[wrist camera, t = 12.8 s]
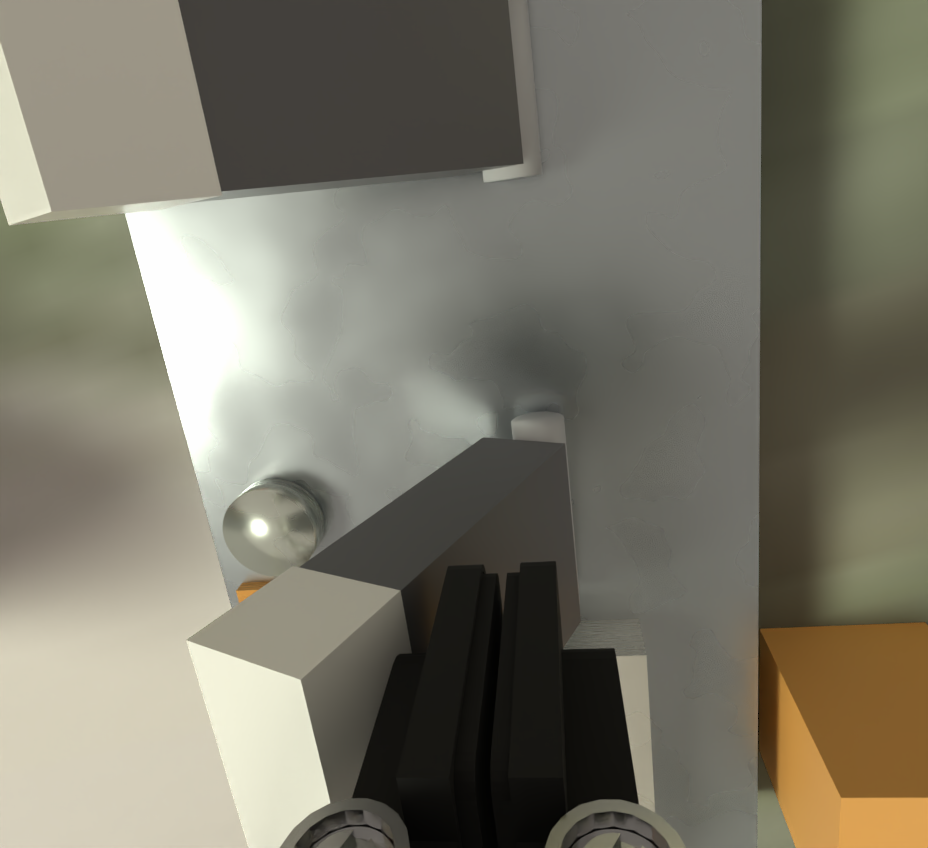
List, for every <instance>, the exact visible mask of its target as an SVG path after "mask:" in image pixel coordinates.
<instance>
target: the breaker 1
mask: <svg viewBox="0 0 928 848" xmlns="http://www.w3.org/2000/svg"><path fill="white" fill-rule="evenodd" d="M480 171H483V180H484V182H494V181H502V180H510V179H517V178H524V177H530V176H537V175H542V174H543V173H542V162H541V150H540V139H539V128H538V116H537V105H536V93H535V82H534V71H533V59H532V48H531V37H530V25H529V14H528V2H527V0H0V199H1V202H2V205H3V209H4V212H5V215H6V218H7V221H8V224H9V225H17V224H26V223H36V222H46V221H55V220H65V219H74V218H84V217H94V216H103V215H113V214H123V213H132V212H142V211H151V210H161V209H165V208H169V207H174V206H178V205H182V204H187V203H194V202H204V201H214V200H224V199H234V198H244V197H254V196H263V195H273V194H283V193H293V192H303V191H313V190H323V189H333V188H343V187H353V186H363V185H373V184H383V183H393V182H403V181H413V180H423V179H433V178H443V177H452V176H457V175H463V174H469V173H474V172H480Z"/></svg>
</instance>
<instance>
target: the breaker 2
mask: <svg viewBox="0 0 928 848" xmlns="http://www.w3.org/2000/svg"><path fill="white" fill-rule="evenodd" d="M511 427H512V435H513V439H500V438H486V437H483V438H481V439H480V440H479V441H477V442H476V443H474V444H473V445H471V446H470V447H469V448H467V449H466V450H464V451H463V452H461V453H460V454H459V455H457V456H456V457H454V458H453V459H452V460H450V461H449V462H447V463H446V464H444V465H443V466H442V467H440V468H439V469H437V470H436V471H435V472H433V473H432V474H430V475H429V476H427V477H426V478H425V479H423V480H422V481H420V482H419V483H418V484H416V485H415V486H413V487H412V488H410V489H409V490H408V491H406V492H405V493H403V494H402V495H400V496H399V497H398V498H396V499H395V500H393V501H392V502H391V503H389V504H388V505H386V506H385V507H383V508H382V509H381V510H379V511H378V512H376V513H375V514H374V515H372V516H371V517H369V518H368V519H366V520H365V521H364V522H362V523H361V524H359V525H358V526H356V527H355V528H354V529H352V530H351V531H349V532H348V533H347V534H345V535H344V536H342V537H341V538H339V539H338V540H337V541H335V542H334V543H332V544H331V545H330V546H328V547H327V548H325V549H324V550H322V551H321V552H320V553H318V554H317V555H315V556H314V557H313V558H311V559H310V560H308V561H307V562H305V563H304V564H303V565H301V566H300V567H295V566H292V567H291V568H289V569H288V570H286V571H285V572H283V573H282V574H281V575H279V576H278V577H276V578H275V579H273V580H272V581H270V582H269V583H268V584H266V585H265V586H263V587H262V588H260V589H259V590H258V591H256V592H255V593H253V594H252V595H250V596H249V597H247V598H246V599H245V600H243V601H242V602H240V603H239V604H237V605H236V606H235V607H233V608H232V609H230V610H229V611H227V612H226V613H224V614H223V615H222V616H220V617H219V618H217V619H216V620H214V621H213V622H212V623H210V624H209V625H207V626H206V627H204V628H203V629H201V630H200V631H199V632H197V633H196V634H194V635H193V636H191V637H190V638H189V639H187V640H186V642H187V645H188V648H189V652H190V655H191V658H192V662H193V665H194V668H195V672H196V675H197V678H198V682H199V685H200V688H201V692H202V695H203V698H204V702H205V705H206V708H207V712H208V715H209V718H210V722H211V725H212V728H213V732H214V735H215V738H216V742H217V745H218V748H219V752H220V755H221V758H222V762H223V765H224V768H225V772H226V775H227V778H228V782H229V785H230V788H231V792H232V795H233V798H234V802H235V805H236V808H237V812H238V815H239V818H240V822H241V825H242V828H243V832H244V835H245V838H246V842H247V845H248V848H280V846H281V845H282V843H283V842H284V841H285V839H286V838H287V836H288V835H289V834H290V832H291V831H292V830H293V828H294V827H295V826H297V825H298V824H299V823H300V822H301V821H302V820H304V819H305V818H306V817H307V816H308V815H309V814H311V813H313V812H314V811H316V810H318V809H320V808H322V807H324V806H326V805H327V804H330V803H333V802H337V801H341V800H345V799H348V798H352V796H353V793H354V790H355V786H356V783H357V780H358V776H359V773H360V770H361V767H362V763H363V760H364V757H365V754H366V750H367V747H368V744H369V741H370V737H371V734H372V731H373V728H374V724H375V721H376V718H377V715H378V711H379V708H380V705H381V702H382V698H383V695H384V692H385V689H386V685H387V682H388V679H389V675H390V672H391V669H392V666H393V663H394V660H395V658H396V656H397V655H399V654H409V653H427V649H428V645H429V641H430V637H431V632H432V628H433V624H434V620H435V616H436V612H437V608H438V604H439V600H440V596H441V591H442V587H443V583H444V579H445V575H446V571H447V568H448V566H455V565H478V564H483V565H484V566H485V571H486V574H489V573H498V576H499V583H500V591H501V600H502V609H503V611H504V600H505V589H506V577H507V573H511V572H520V563H522V562H545V561H556V566H557V578H558V590H559V603H560V615H561V627H562V640H563V648H564V646H565V645H566V643H567V642H568V640H569V639H570V637H571V636H572V634H573V633H574V631H575V630H576V628H577V627H578V625H579V624H580V622H581V617H580V594H579V583H578V571H577V560H576V549H575V537H574V526H573V514H572V503H571V492H570V480H569V469H568V458H567V446H566V435H565V423H564V416H563V415H562V414H560V413H556V412H549V411H541V412H531V413H526V414H523V415H520V416H517V417H515V418H514V419H513V420H512V421H511Z"/></svg>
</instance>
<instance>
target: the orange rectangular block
mask: <svg viewBox="0 0 928 848" xmlns="http://www.w3.org/2000/svg"><path fill="white" fill-rule="evenodd" d="M759 751H760V753H761V756H762V759H763V761H764V764H765V767H766V769H767V772H768V775H769V777H770V780H771V783H772V785H773V788H774V791H775V793H776V796H777V799H778V801H779V804H780V807H781V809H782V812H783V814H784V817H785V820H786V822H787V825H788V828H789V830H790V833H791V836H792V838H793V841H794V844H795V846H796V848H928V625H927V624H926V623H925V622H920V623H894V624H869V625H843V626H817V627H792V628H766V629H760V656H759Z"/></svg>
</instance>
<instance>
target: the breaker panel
mask: <svg viewBox="0 0 928 848" xmlns="http://www.w3.org/2000/svg"><path fill="white" fill-rule="evenodd" d="M527 2H528V14H529V25H530V37H531V48H532V59H533V71H534V82H535V93H536V105H537V116H538V128H539V139H540V150H541V162H542V173H543V174H542V175H537V176H530V177H524V178H517V179H510V180H502V181H494V182H484V180H483V171H480V172H474V173H469V174H463V175H457V176H452V177H443V178H433V179H423V180H413V181H403V182H393V183H383V184H373V185H363V186H353V187H343V188H333V189H323V190H313V191H303V192H293V193H283V194H273V195H263V196H254V197H244V198H234V199H224V200H214V201H204V202H194V203H187V204H182V205H178V206H174V207H169V208H165V209H161V210H151V211H142V212H132V213H125V216H126V219H127V223H128V227H129V230H130V234H131V238H132V241H133V245H134V249H135V252H136V256H137V260H138V264H139V267H140V271H141V275H142V278H143V282H144V286H145V289H146V293H147V297H148V300H149V304H150V308H151V312H152V315H153V319H154V323H155V326H156V330H157V334H158V337H159V341H160V345H161V348H162V352H163V356H164V360H165V363H166V367H167V371H168V374H169V378H170V382H171V385H172V389H173V393H174V396H175V400H176V404H177V408H178V411H179V415H180V419H181V422H182V426H183V430H184V433H185V437H186V441H187V444H188V448H189V452H190V456H191V459H192V463H193V467H194V470H195V474H196V478H197V481H198V485H199V489H200V492H201V496H202V500H203V504H204V507H205V511H206V515H207V518H208V522H209V526H210V529H211V533H212V537H213V540H214V544H215V548H216V552H217V555H218V559H219V563H220V566H221V570H222V574H223V577H224V581H225V585H226V588H227V592H228V596H229V600H230V603H231V607H232V608H233V607H235V606H236V605H237V604H239V603H240V602H242V601H243V600H245V599H246V598H247V597H249V596H250V595H252V594H253V593H255V592H256V591H258V590H259V589H260V588H262V587H263V586H265V585H266V584H268V583H269V582H270V581H272V580H273V579H275V578H276V577H278V576H279V575H281V574H282V573H283V572H285V571H286V570H288V569H289V568H291V567H292V566H295V567H300V566H301V565H303V564H304V563H305V562H307V561H308V560H310V559H311V558H313V557H314V556H315V555H317V554H318V553H320V552H321V551H322V550H324V549H325V548H327V547H328V546H330V545H331V544H332V543H334V542H335V541H337V540H338V539H339V538H341V537H342V536H344V535H345V534H347V533H348V532H349V531H351V530H352V529H354V528H355V527H356V526H358V525H359V524H361V523H362V522H364V521H365V520H366V519H368V518H369V517H371V516H372V515H374V514H375V513H376V512H378V511H379V510H381V509H382V508H383V507H385V506H386V505H388V504H389V503H391V502H392V501H393V500H395V499H396V498H398V497H399V496H400V495H402V494H403V493H405V492H406V491H408V490H409V489H410V488H412V487H413V486H415V485H416V484H418V483H419V482H420V481H422V480H423V479H425V478H426V477H427V476H429V475H430V474H432V473H433V472H435V471H436V470H437V469H439V468H440V467H442V466H443V465H444V464H446V463H447V462H449V461H450V460H452V459H453V458H454V457H456V456H457V455H459V454H460V453H461V452H463V451H464V450H466V449H467V448H469V447H470V446H471V445H473V444H474V443H476V442H477V441H479V440H480V439H481V438H483V437H486V438H500V439H513V435H512V427H511V421H512V420H513V419H514V418H515V417H517V416H520V415H523V414H526V413H531V412H541V411H549V412H556V413H560V414H562V415H563V416H564V423H565V435H566V446H567V458H568V469H569V480H570V492H571V503H572V514H573V526H574V537H575V549H576V560H577V571H578V583H579V594H580V617H581V622H580V624H579V625H578V627H577V628H576V630H575V631H574V633H573V634H572V636H571V637H570V639H569V640H568V642H567V643H566V645H565V646H564V648H563V649H599V648H614V649H615V653H616V658H617V665H618V671H619V678H620V684H621V691H622V697H623V704H624V710H625V717H626V723H627V729H628V736H629V742H630V749H631V755H632V762H633V768H634V775H635V781H636V788H637V794H638V801H639V805H642V806H644V807H646V808H647V809H649V810H651V811H653V812H654V813H656V814H658V815H660V816H661V817H662V818H663V819H664V820H665V821H666V822H667V823H668V824H669V825H670V826H671V827H672V828H674V829H675V830H676V831H677V832H678V834H679V836H680V838H681V839H682V841H683V843H684V845H685V847H686V848H757V803H758V616H759V430H760V243H761V57H762V0H527Z"/></svg>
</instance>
